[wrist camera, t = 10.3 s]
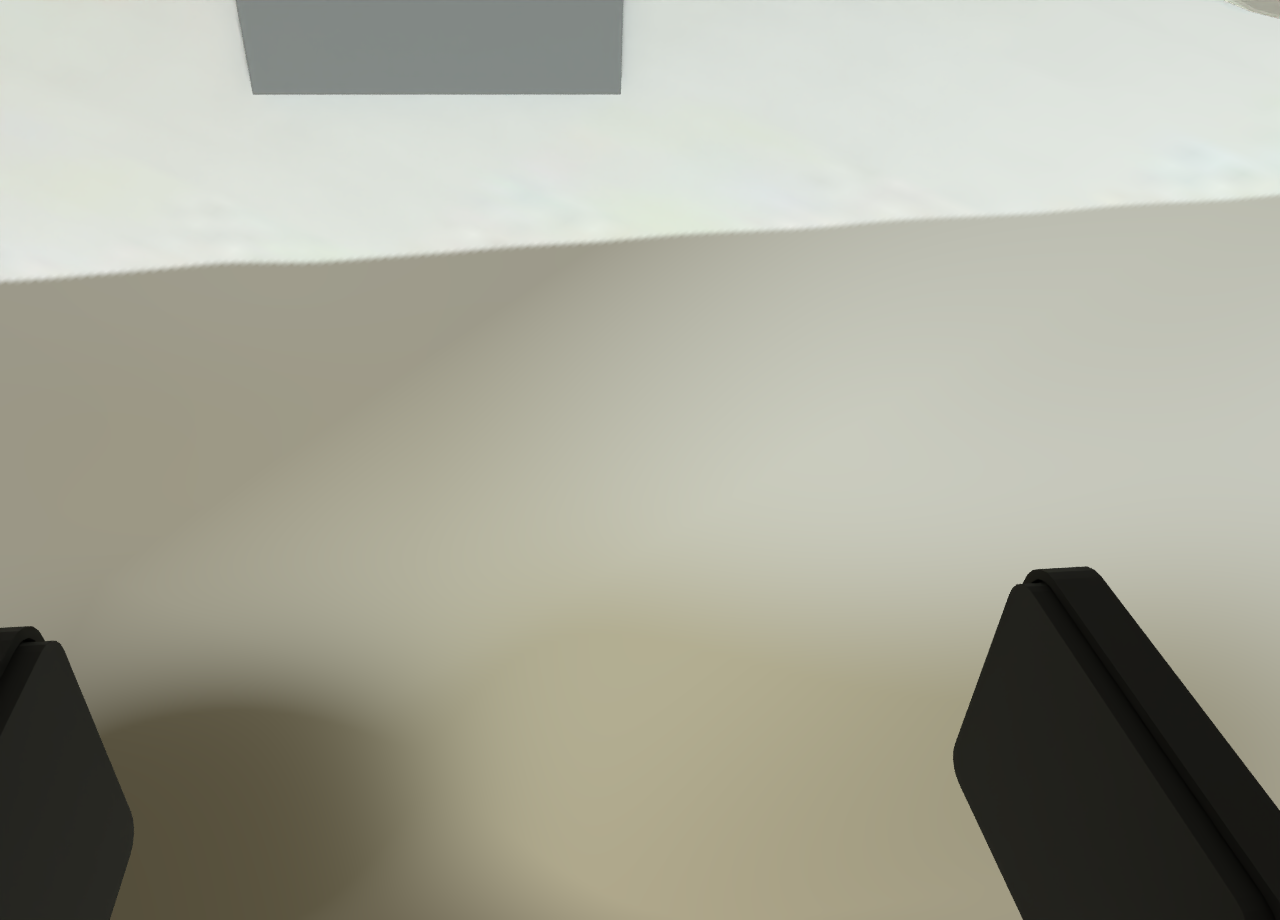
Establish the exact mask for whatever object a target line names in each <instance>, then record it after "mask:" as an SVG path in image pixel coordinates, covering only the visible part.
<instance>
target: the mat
mask: <svg viewBox="0 0 1280 920" xmlns="http://www.w3.org/2000/svg"><path fill="white" fill-rule="evenodd" d="M236 5H237V10H238V16H239V21H240V27H241V32H242V37H243V43H244V48H245V54H246V59H247V65H248V70H249V76H250V81H251V87H252V92H253V95H262V94H621V66H622V28H623V0H236Z"/></svg>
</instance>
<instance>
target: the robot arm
mask: <svg viewBox="0 0 1280 920" xmlns="http://www.w3.org/2000/svg"><path fill="white" fill-rule="evenodd" d="M1224 1H1227V2H1229V3H1231V4H1234V5H1236V6H1239V7H1241V8H1243V9H1246V10H1248V11H1251V12H1255V13H1259V14H1263V15H1267V16H1271V17H1274V18H1278V19H1280V0H1224ZM953 762H954V769H955V773H956V777H957V779H958V782H959V784H960V786H961V789H962V791H963V793H964V795H965V797H966V799H967V801H968V803H969V805H970V808H971V810H972V812H973V814H974V816H975V818H976V820H977V823H978V825H979V827H980V829H981V831H982V833H983V835H984V837H985V840H986V842H987V844H988V846H989V848H990V850H991V852H992V854H993V856H994V859H995V861H996V863H997V865H998V867H999V869H1000V872H1001V874H1002V876H1003V878H1004V880H1005V882H1006V884H1007V887H1008V889H1009V891H1010V893H1011V895H1012V897H1013V899H1014V901H1015V903H1016V906H1017V907H1018V910H1019V912H1020V914H1021V916H1022V918H1023V920H1280V810H1279V809H1278V808H1277V806H1276V805H1275V804H1274V803H1273V801H1272V800H1271V799H1270V797H1269V796H1268V795H1267V793H1266V792H1265V791H1264V789H1263V788H1262V787H1261V785H1260V784H1259V783H1258V782H1257V780H1256V779H1255V778H1254V776H1253V775H1252V774H1251V772H1250V771H1249V770H1248V769H1247V767H1246V766H1245V765H1244V763H1243V762H1242V760H1241V759H1240V758H1239V757H1238V755H1237V754H1236V753H1235V751H1234V750H1233V749H1232V748H1231V746H1230V745H1229V743H1228V742H1227V741H1226V739H1225V738H1224V737H1223V736H1222V734H1221V733H1220V732H1219V730H1218V729H1217V728H1216V726H1215V725H1214V724H1213V722H1212V721H1211V720H1210V719H1209V717H1208V716H1207V715H1206V713H1205V712H1204V711H1203V709H1202V708H1201V707H1200V705H1199V704H1198V703H1197V701H1196V700H1195V699H1194V697H1193V696H1192V695H1191V694H1190V692H1189V691H1188V690H1187V688H1186V687H1185V686H1184V684H1183V683H1182V682H1181V680H1180V679H1179V678H1178V676H1177V675H1176V674H1175V673H1174V671H1173V670H1172V669H1171V667H1170V666H1169V665H1168V663H1167V662H1166V661H1165V660H1164V658H1163V657H1162V656H1161V654H1160V653H1159V652H1158V650H1157V649H1156V648H1155V646H1154V645H1153V644H1152V643H1151V641H1150V640H1149V638H1148V637H1147V636H1146V634H1145V633H1144V632H1143V631H1142V629H1141V628H1140V627H1139V625H1138V624H1137V623H1136V621H1135V620H1134V619H1133V618H1132V616H1131V615H1130V614H1129V612H1128V611H1127V610H1126V609H1125V607H1124V606H1123V604H1122V603H1121V602H1120V600H1119V599H1118V598H1117V597H1116V595H1115V594H1114V593H1113V591H1112V590H1111V589H1110V587H1109V586H1108V585H1107V583H1106V582H1105V581H1104V580H1103V578H1102V577H1101V576H1100V575H1099V574H1098V573H1097V572H1096V571H1095V570H1093V569H1092V568H1089V567H1071V568H1070V567H1069V568H1052V569H1037V570H1032V571H1031V572H1030V573H1029V574H1028V575H1027V576H1026V578H1025V580H1024V582H1023V584H1017V585H1016V586H1014V587H1013V588H1012V590H1011V592H1010V594H1009V597H1008V599H1007V602H1006V605H1005V608H1004V610H1003V613H1002V616H1001V619H1000V622H999V624H998V627H997V630H996V633H995V635H994V638H993V641H992V644H991V647H990V649H989V652H988V655H987V657H986V660H985V663H984V666H983V668H982V671H981V674H980V677H979V679H978V682H977V685H976V688H975V691H974V693H973V696H972V699H971V701H970V705H969V707H968V710H967V712H966V716H965V718H964V721H963V724H962V726H961V729H960V732H959V735H958V738H957V740H956V743H955V746H954V751H953ZM133 836H134V826H133V818H132V814H131V811H130V808H129V806H128V804H127V801H126V799H125V797H124V794H123V792H122V789H121V787H120V784H119V782H118V779H117V777H116V775H115V772H114V770H113V767H112V765H111V762H110V760H109V758H108V755H107V753H106V750H105V748H104V746H103V743H102V741H101V738H100V736H99V733H98V731H97V729H96V726H95V724H94V721H93V719H92V716H91V714H90V712H89V709H88V707H87V704H86V702H85V699H84V697H83V695H82V692H81V690H80V687H79V685H78V683H77V680H76V678H75V675H74V673H73V671H72V668H71V666H70V663H69V661H68V658H67V656H66V653H65V651H64V649H63V647H62V646H61V644H60V643H58V642H57V641H45V640H44V639H43V637H42V635H41V633H40V632H39V631H38V630H37V629H36V628H34V627H32V626H30V627H29V626H27V627H26V626H25V627H8V628H0V920H110V917H111V914H112V911H113V907H114V904H115V901H116V898H117V895H118V892H119V889H120V886H121V882H122V879H123V876H124V873H125V870H126V867H127V863H128V860H129V857H130V854H131V850H132V845H133Z"/></svg>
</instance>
